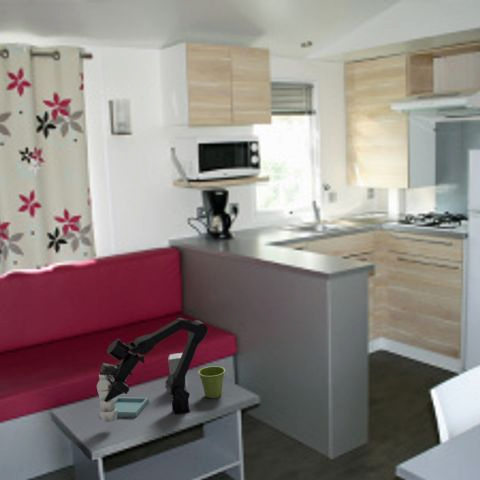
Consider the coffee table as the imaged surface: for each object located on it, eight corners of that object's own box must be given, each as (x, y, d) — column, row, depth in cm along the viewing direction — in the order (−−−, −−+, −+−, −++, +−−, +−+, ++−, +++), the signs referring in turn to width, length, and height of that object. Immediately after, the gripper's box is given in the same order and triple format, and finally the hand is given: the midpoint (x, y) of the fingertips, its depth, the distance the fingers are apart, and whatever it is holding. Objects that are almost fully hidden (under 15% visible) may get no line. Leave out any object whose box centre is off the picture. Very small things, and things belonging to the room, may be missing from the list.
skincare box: (186, 391, 299) (183, 358, 296) (170, 393, 299) (167, 359, 297) (188, 384, 307) (185, 351, 305) (172, 385, 308) (169, 353, 305)
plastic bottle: (114, 424, 263) (108, 376, 259) (98, 424, 264) (92, 376, 261) (120, 417, 269) (114, 370, 265) (105, 416, 270) (99, 370, 267)
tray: (148, 402, 291) (148, 397, 290) (136, 417, 277) (135, 412, 276) (117, 401, 294) (117, 397, 294) (103, 416, 280) (103, 411, 280)
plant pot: (210, 403, 285) (208, 378, 283) (195, 395, 294) (192, 371, 292) (232, 394, 292) (230, 370, 290) (216, 387, 301) (214, 364, 299)
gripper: (105, 349, 272) (82, 381, 269) (117, 362, 255) (92, 396, 253) (126, 363, 277) (103, 394, 274) (139, 376, 260) (115, 410, 257)
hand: (103, 398), depth 264 cm, fingers closed on plastic bottle, 6 cm apart
